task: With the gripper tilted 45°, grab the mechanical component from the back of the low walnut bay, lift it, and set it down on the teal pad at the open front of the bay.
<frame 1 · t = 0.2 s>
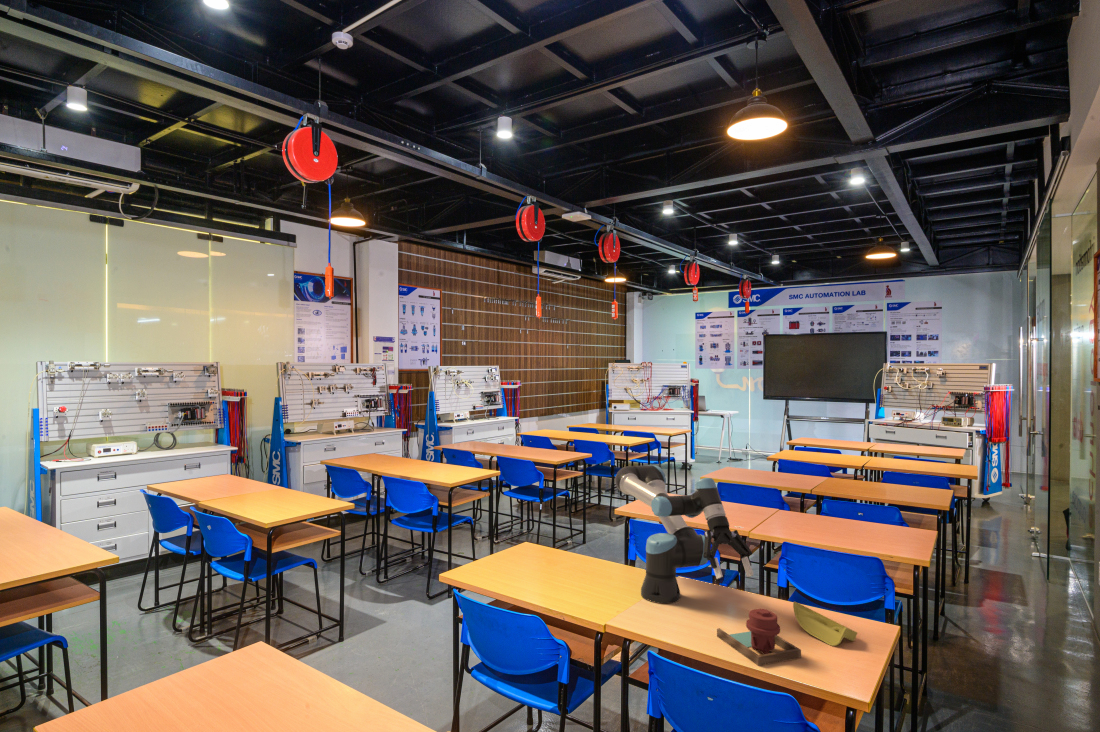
hand: (735, 577, 195), 16 cm above the table, tool tilted 35°, fingers open, 13 cm apart
bay: (757, 646, 176), on the table
mechanical component: (762, 651, 174), resting in bay
plastic component: (822, 633, 188), on the table
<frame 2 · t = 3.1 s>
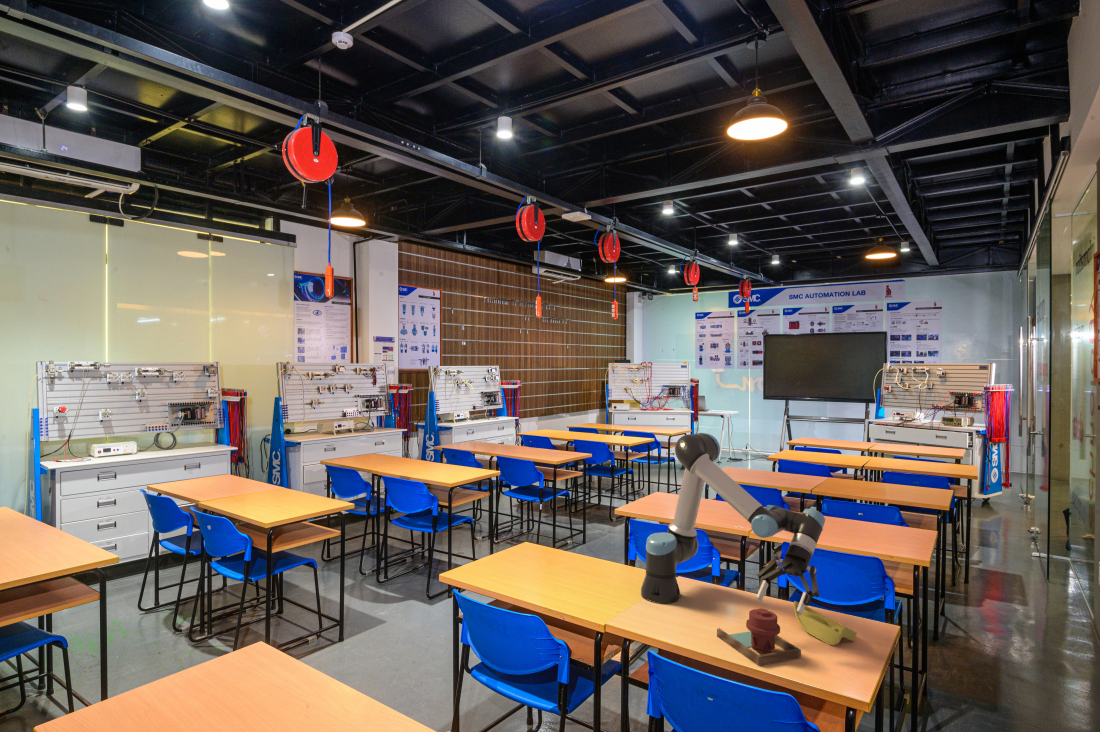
hand: (778, 606, 179), 12 cm above the table, tool tilted 45°, fingers open, 13 cm apart
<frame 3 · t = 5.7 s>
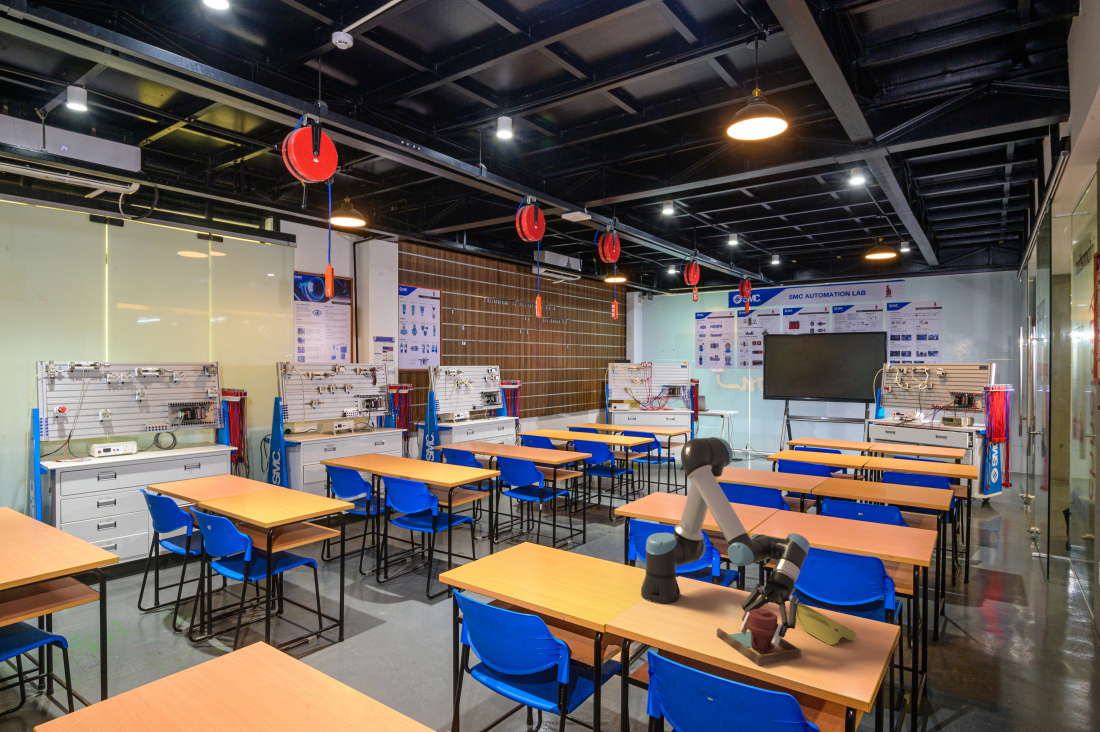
hand: (757, 638, 172), 4 cm above the table, tool tilted 45°, fingers closed on mechanical component, 10 cm apart
mechanical component: (762, 651, 174), resting in bay, touching gripper
everything else where it was.
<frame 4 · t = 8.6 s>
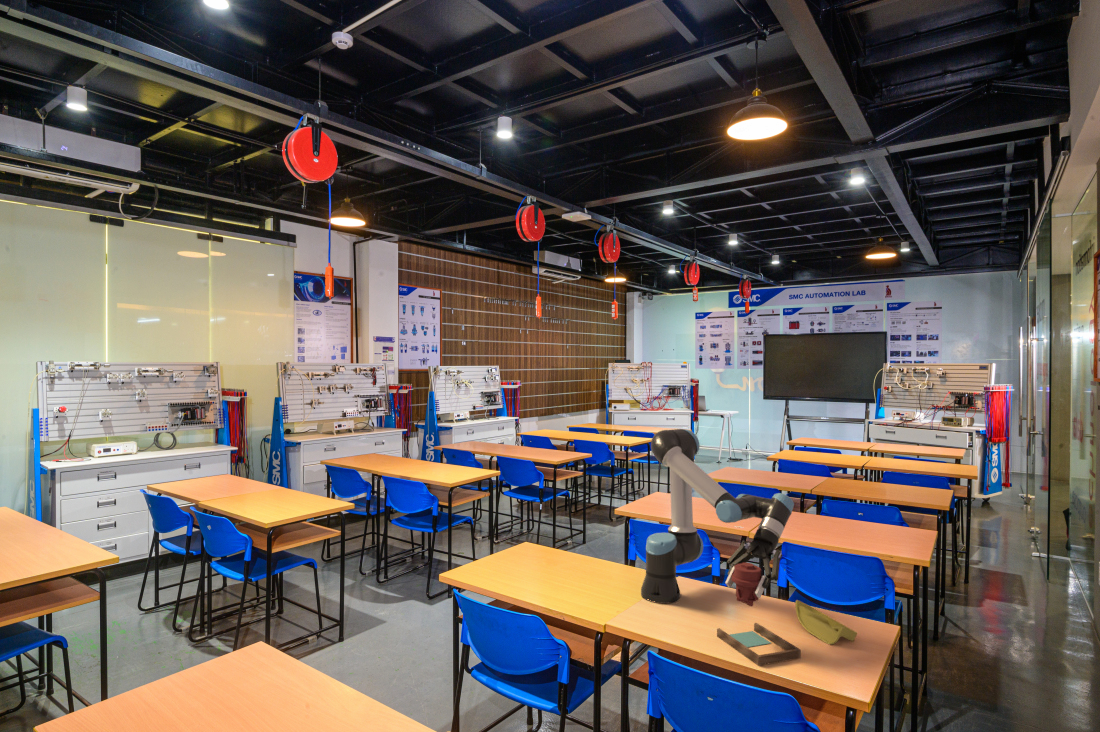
hand: (742, 590, 180), 17 cm above the table, tool tilted 45°, fingers closed on mechanical component, 10 cm apart
mechanical component: (747, 602, 182), point 12 cm above the table, touching gripper
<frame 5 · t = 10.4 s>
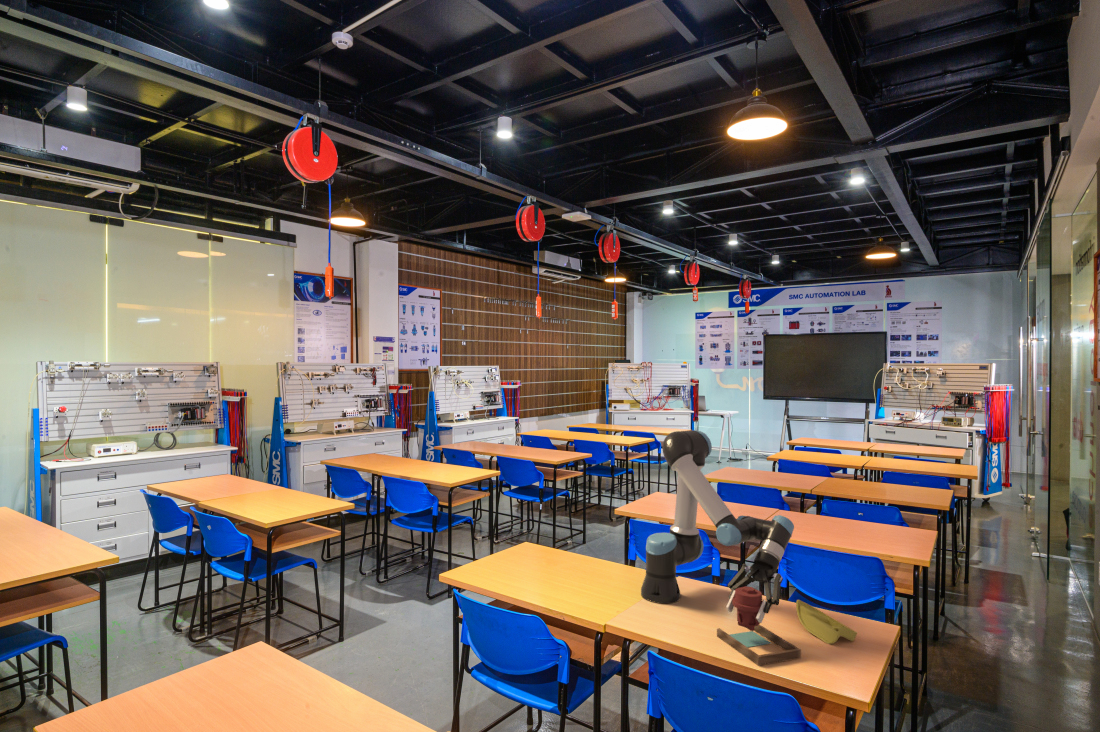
hand: (743, 615, 179), 9 cm above the table, tool tilted 45°, fingers closed on mechanical component, 10 cm apart
mechanical component: (748, 627, 181), point 4 cm above the table, touching gripper
when the fingers open (6 cm above the table, at t = 11.7 s): mechanical component drops 1 cm, resting on bay.
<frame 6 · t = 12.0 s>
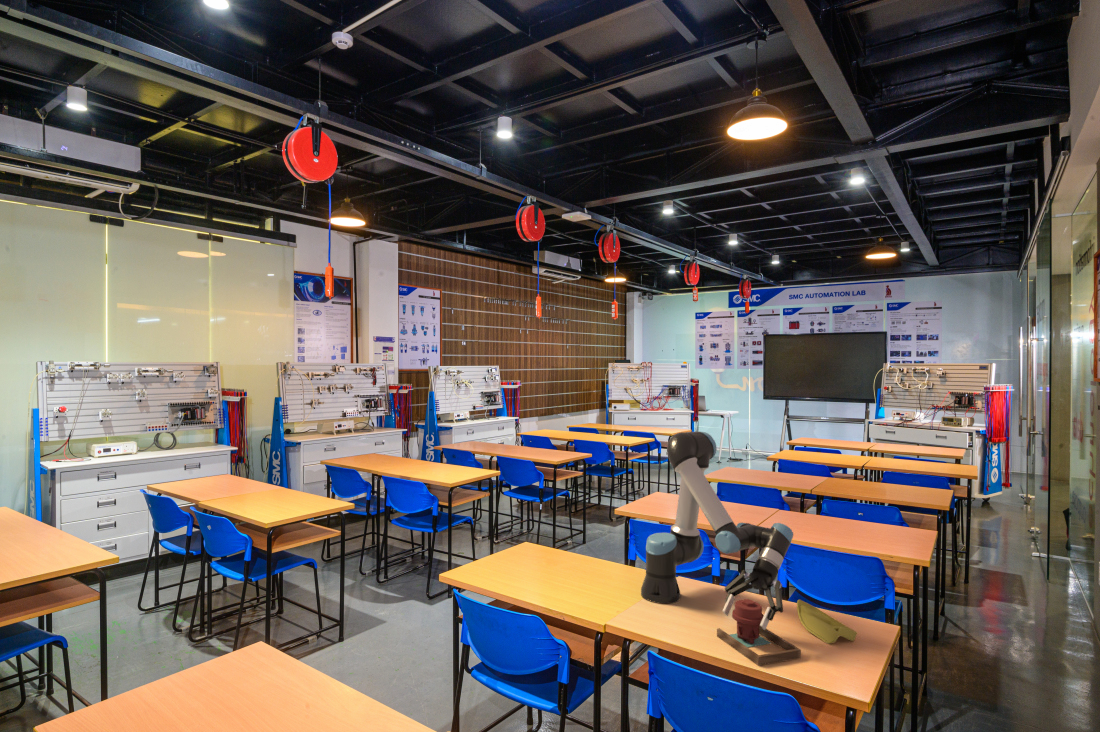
hand: (743, 620, 180), 7 cm above the table, tool tilted 45°, fingers open, 13 cm apart
mechanical component: (747, 640, 181), resting on bay
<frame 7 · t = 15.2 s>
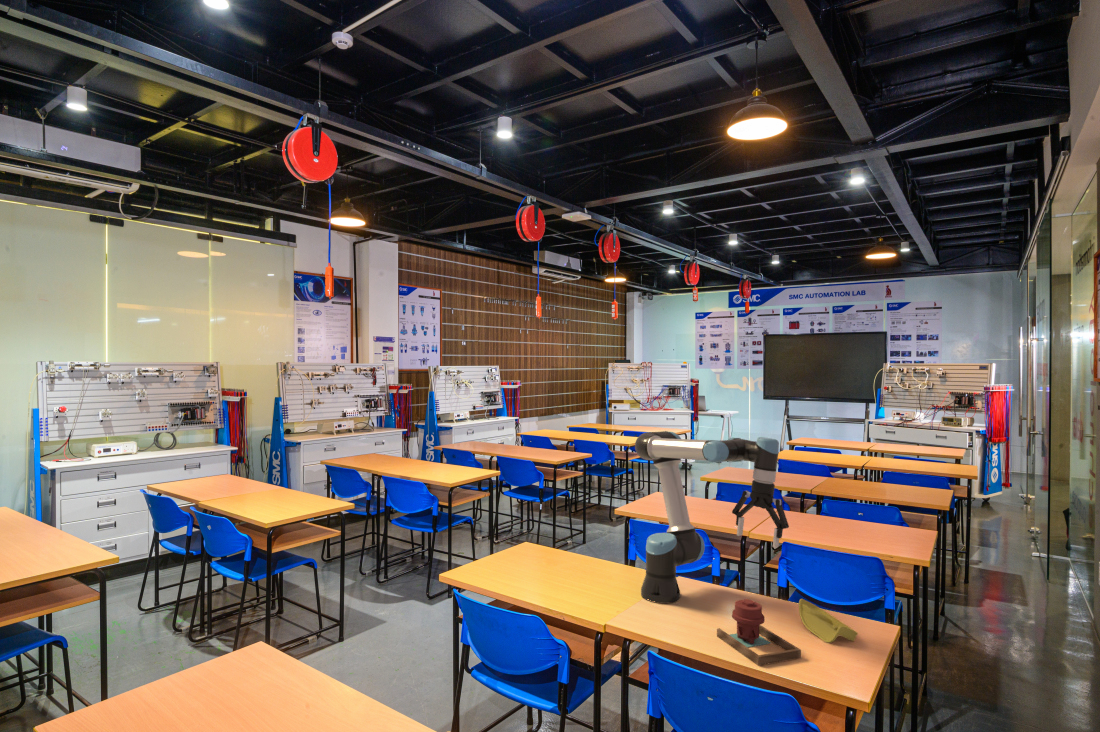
hand: (757, 541, 196), 28 cm above the table, tool pointing down, fingers open, 13 cm apart
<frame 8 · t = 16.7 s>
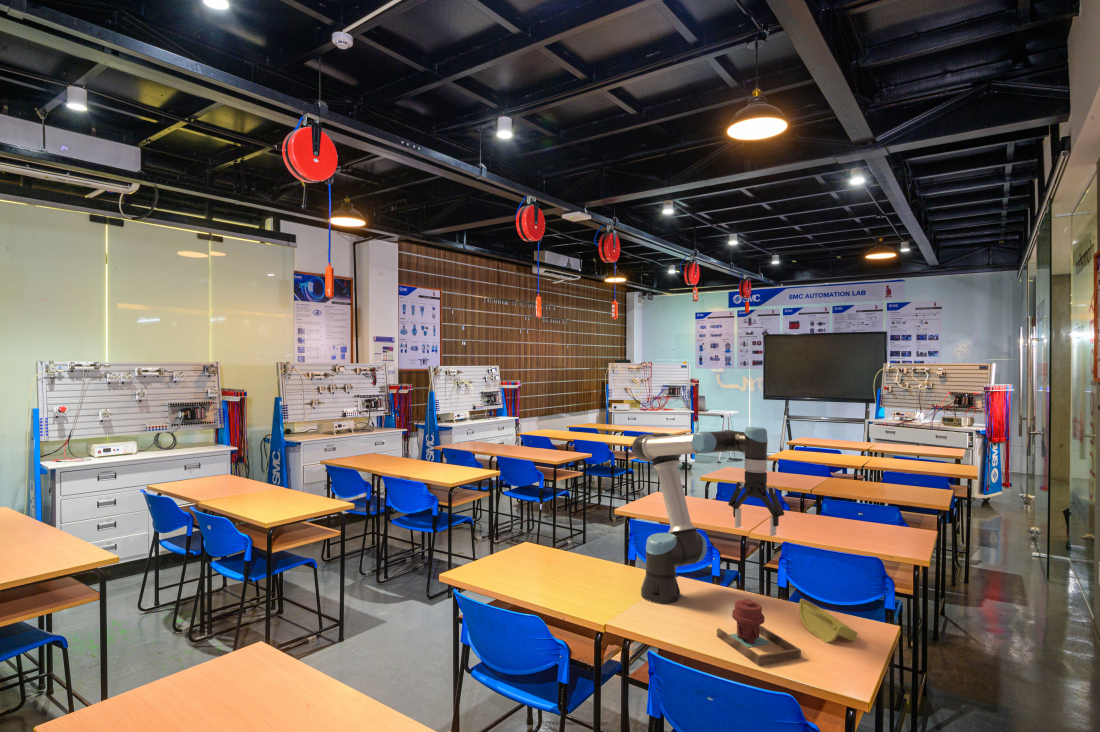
hand: (755, 531, 197), 32 cm above the table, tool pointing down, fingers open, 13 cm apart
at the end: mechanical component inside the target area on the bay (0.3 cm from its centre), point 0.0 cm above the bay's base; mechanical component tilted 0°; the gripper is holding nothing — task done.
